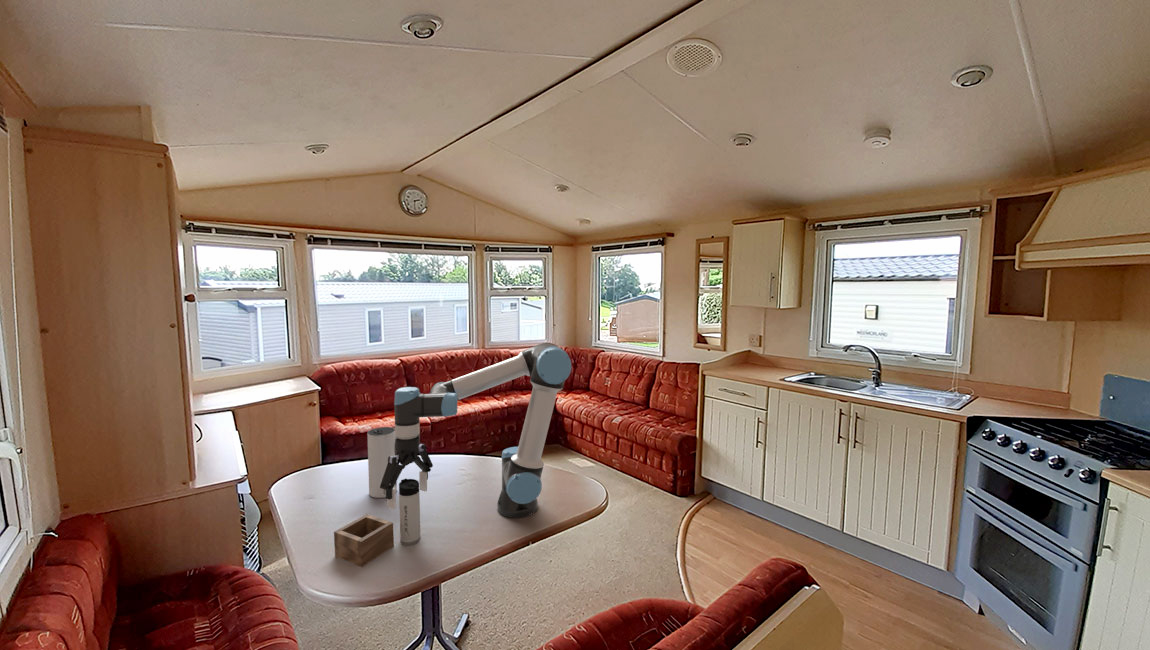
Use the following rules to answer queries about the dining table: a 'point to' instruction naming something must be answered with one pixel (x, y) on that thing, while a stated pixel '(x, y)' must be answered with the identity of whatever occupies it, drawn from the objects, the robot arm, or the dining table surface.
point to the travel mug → (409, 511)
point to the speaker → (379, 458)
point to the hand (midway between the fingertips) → (408, 498)
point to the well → (363, 540)
